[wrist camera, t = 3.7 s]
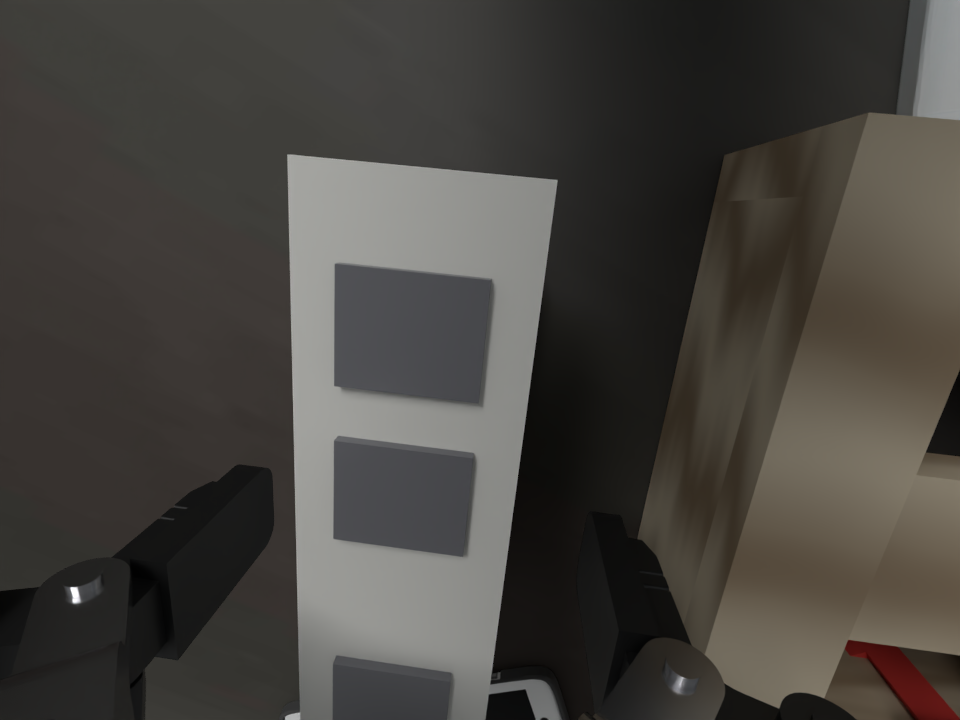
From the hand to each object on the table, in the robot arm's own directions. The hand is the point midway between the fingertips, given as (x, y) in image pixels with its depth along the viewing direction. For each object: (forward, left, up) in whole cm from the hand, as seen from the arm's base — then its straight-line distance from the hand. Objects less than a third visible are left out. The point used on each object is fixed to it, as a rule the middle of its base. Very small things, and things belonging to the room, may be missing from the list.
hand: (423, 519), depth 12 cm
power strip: (0, 0, -6) cm, 6 cm away
